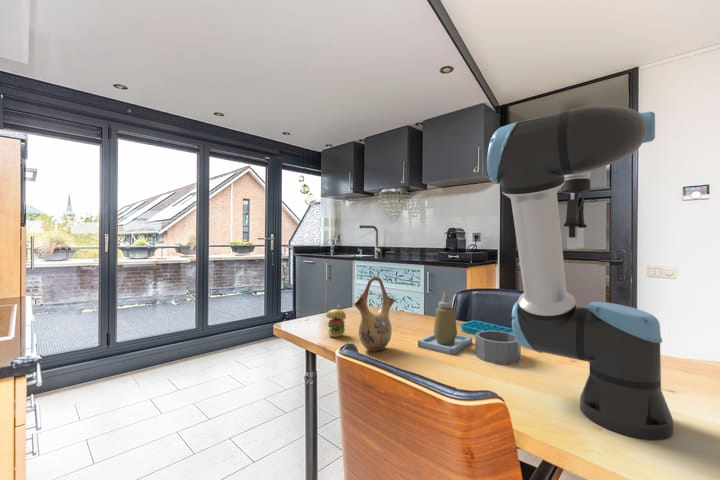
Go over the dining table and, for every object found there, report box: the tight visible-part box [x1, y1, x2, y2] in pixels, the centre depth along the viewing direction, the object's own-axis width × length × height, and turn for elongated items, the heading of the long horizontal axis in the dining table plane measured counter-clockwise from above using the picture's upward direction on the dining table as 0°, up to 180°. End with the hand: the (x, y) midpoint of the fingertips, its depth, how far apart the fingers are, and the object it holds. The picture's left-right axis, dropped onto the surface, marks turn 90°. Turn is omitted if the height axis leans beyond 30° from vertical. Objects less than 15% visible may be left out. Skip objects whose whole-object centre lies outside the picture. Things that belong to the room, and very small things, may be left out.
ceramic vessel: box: [353, 276, 396, 352], centre depth 111 cm, size 16×9×25 cm, turn 121°
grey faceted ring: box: [474, 330, 522, 365], centre depth 104 cm, size 13×13×6 cm
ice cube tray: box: [458, 320, 514, 336], centre depth 129 cm, size 12×20×3 cm, turn 37°
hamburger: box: [326, 304, 347, 338], centre depth 128 cm, size 8×7×12 cm
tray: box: [417, 333, 473, 356], centre depth 116 cm, size 16×13×2 cm
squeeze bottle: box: [433, 291, 458, 345], centre depth 116 cm, size 8×8×18 cm
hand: (575, 248), depth 100 cm, fingers open, 13 cm apart
